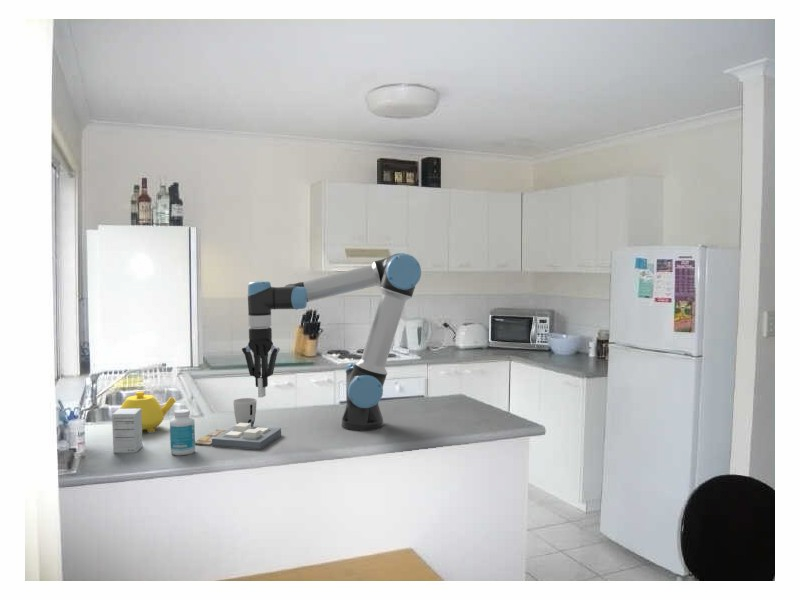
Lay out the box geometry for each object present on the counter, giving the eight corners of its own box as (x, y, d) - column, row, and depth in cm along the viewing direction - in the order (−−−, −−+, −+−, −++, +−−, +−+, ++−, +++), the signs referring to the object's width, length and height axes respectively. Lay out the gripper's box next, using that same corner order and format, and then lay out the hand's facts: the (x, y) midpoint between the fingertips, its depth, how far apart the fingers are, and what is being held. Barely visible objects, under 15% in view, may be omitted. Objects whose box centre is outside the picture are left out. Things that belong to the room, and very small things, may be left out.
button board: (281, 435, 240) (281, 428, 239) (260, 449, 223) (260, 442, 223) (235, 432, 243) (235, 425, 243) (212, 446, 227) (211, 438, 227)
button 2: (251, 430, 239) (251, 423, 238) (245, 434, 235) (245, 426, 234) (239, 430, 240) (239, 422, 239) (234, 433, 236) (234, 425, 235)
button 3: (260, 437, 231) (260, 429, 231) (255, 440, 227) (255, 432, 226) (249, 436, 232) (249, 428, 231) (243, 439, 228) (243, 432, 227)
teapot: (175, 421, 258) (174, 385, 257) (178, 432, 244) (177, 393, 243) (117, 426, 251) (116, 389, 250) (117, 438, 237) (115, 398, 236)
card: (233, 432, 244) (233, 430, 244) (209, 446, 227) (209, 443, 227) (217, 431, 245) (217, 429, 245) (192, 444, 229) (192, 442, 229)
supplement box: (119, 446, 227) (118, 408, 226) (143, 445, 227) (142, 407, 226) (112, 453, 219) (111, 413, 218) (136, 452, 220) (135, 413, 219)
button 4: (269, 435, 237) (268, 428, 237) (263, 438, 233) (263, 431, 233) (257, 434, 238) (257, 427, 238) (252, 438, 234) (252, 430, 234)
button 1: (242, 439, 232) (242, 431, 232) (236, 443, 228) (236, 435, 228) (231, 438, 233) (230, 431, 233) (225, 442, 229) (225, 434, 229)
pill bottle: (198, 453, 219) (197, 411, 218) (174, 457, 215) (173, 414, 214) (191, 447, 225) (190, 406, 224) (167, 451, 221) (166, 409, 220)
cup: (251, 431, 245) (250, 403, 244) (230, 430, 247) (229, 402, 246) (260, 425, 253) (260, 398, 252) (239, 424, 254) (239, 397, 254)
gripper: (282, 326, 235) (284, 394, 237) (247, 325, 238) (248, 393, 240) (273, 329, 228) (275, 399, 230) (237, 328, 231) (239, 398, 233)
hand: (261, 396), depth 235 cm, fingers closed
